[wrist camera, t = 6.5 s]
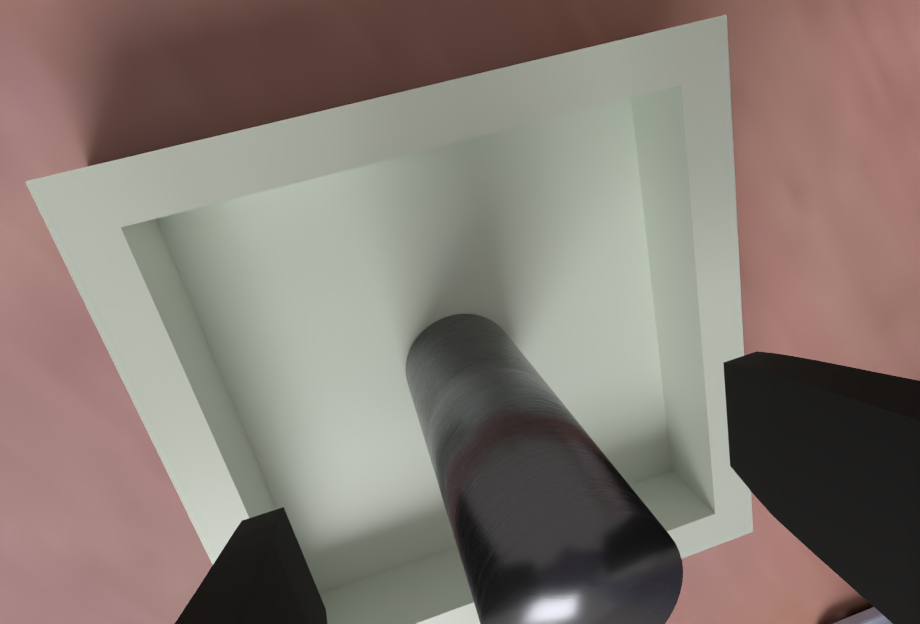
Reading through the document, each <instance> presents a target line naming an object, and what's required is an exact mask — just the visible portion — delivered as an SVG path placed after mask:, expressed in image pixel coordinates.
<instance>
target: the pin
mask: <svg viewBox="0 0 920 624" xmlns="http://www.w3.org/2000/svg"><path fill="white" fill-rule="evenodd" d="M406 379H407V383H408V386H409V390H410V393H411V396H412V400H413V403H414V406H415V409H416V413H417V416H418V419H419V423H420V426H421V429H422V433H423V436H424V439H425V442H426V446H427V449H428V452H429V456H430V459H431V462H432V466H433V469H434V472H435V475H436V479H437V482H438V485H439V489H440V492H441V495H442V498H443V502H444V505H445V508H446V512H447V515H448V518H449V522H450V525H451V528H452V531H453V535H454V538H455V541H456V545H457V548H458V551H459V555H460V558H461V561H462V564H463V568H464V571H465V574H466V578H467V581H468V584H469V588H470V591H471V594H472V597H473V601H474V604H475V607H476V611H477V614H478V617H479V621H480V624H665V623H666V621H667V620H668V618H669V616H670V615H671V613H672V611H673V609H674V607H675V605H676V603H677V600H678V597H679V594H680V590H681V586H682V578H683V567H682V560H681V556H680V552H679V550H678V548H677V546H676V543H675V542H674V540H673V539H672V538H671V536H670V535H669V533H668V532H667V531H666V530H665V529H664V527H663V526H662V525H661V524H660V522H659V521H658V520H657V519H656V517H655V516H654V515H653V514H652V513H651V511H650V510H649V509H648V508H647V506H646V505H645V504H644V503H643V501H642V500H641V499H640V498H639V497H638V495H637V494H636V493H635V492H634V490H633V489H632V488H631V487H630V485H629V484H628V483H627V482H626V481H625V479H624V478H623V477H622V476H621V474H620V473H619V472H618V471H617V469H616V468H615V467H614V466H613V464H612V463H611V462H610V461H609V460H608V458H607V457H606V456H605V455H604V453H603V452H602V451H601V450H600V448H599V447H598V446H597V445H596V444H595V442H594V441H593V440H592V439H591V437H590V436H589V435H588V434H587V432H586V431H585V430H584V429H583V428H582V426H581V425H580V424H579V423H578V421H577V420H576V419H575V418H574V416H573V415H572V414H571V413H570V411H569V410H568V409H567V408H566V407H565V405H564V404H563V403H562V402H561V400H560V399H559V398H558V397H557V395H556V394H555V393H554V392H553V391H552V389H551V388H550V387H549V386H548V384H547V383H546V382H545V381H544V379H543V378H542V377H541V376H540V375H539V373H538V372H537V371H536V370H535V368H534V367H533V366H532V365H531V363H530V362H529V361H528V360H527V358H526V357H525V356H524V355H523V354H522V352H521V351H520V350H519V349H518V347H517V346H516V345H515V344H514V342H513V341H512V340H511V339H510V338H509V336H508V335H507V334H506V333H505V331H504V330H503V329H502V328H501V327H500V326H499V325H497V324H496V323H495V322H493V321H491V320H490V319H488V318H485V317H483V316H479V315H475V314H457V315H451V316H448V317H445V318H442V319H440V320H438V321H436V322H434V323H433V324H431V325H430V326H428V327H427V328H426V329H425V330H424V331H423V332H422V333H421V334H420V335H419V336H418V337H417V338H416V340H415V341H414V343H413V345H412V346H411V349H410V351H409V353H408V357H407V361H406Z"/></svg>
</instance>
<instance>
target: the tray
mask: <svg viewBox="0 0 920 624" xmlns="http://www.w3.org/2000/svg"><path fill="white" fill-rule="evenodd" d="M25 182H26V185H27V187H28V189H29V191H30V193H31V195H32V197H33V199H34V201H35V203H36V205H37V207H38V209H39V211H40V213H41V215H42V217H43V219H44V221H45V223H46V225H47V227H48V229H49V232H50V234H51V236H52V238H53V240H54V242H55V244H56V246H57V248H58V250H59V252H60V254H61V256H62V258H63V260H64V262H65V264H66V266H67V268H68V270H69V272H70V274H71V276H72V279H73V281H74V283H75V285H76V287H77V289H78V291H79V293H80V295H81V297H82V299H83V301H84V303H85V305H86V307H87V309H88V311H89V313H90V315H91V317H92V319H93V321H94V323H95V325H96V328H97V330H98V332H99V334H100V336H101V338H102V340H103V342H104V344H105V346H106V348H107V350H108V352H109V354H110V356H111V358H112V360H113V362H114V364H115V366H116V368H117V370H118V372H119V375H120V377H121V379H122V381H123V383H124V385H125V387H126V389H127V391H128V393H129V395H130V397H131V399H132V401H133V403H134V405H135V407H136V409H137V411H138V413H139V415H140V417H141V419H142V422H143V424H144V426H145V428H146V430H147V432H148V434H149V436H150V438H151V440H152V442H153V444H154V446H155V448H156V450H157V452H158V454H159V456H160V458H161V460H162V462H163V464H164V466H165V468H166V471H167V473H168V475H169V477H170V479H171V481H172V483H173V485H174V487H175V489H176V491H177V493H178V495H179V497H180V499H181V501H182V503H183V505H184V507H185V509H186V511H187V513H188V515H189V518H190V520H191V522H192V524H193V526H194V528H195V530H196V532H197V534H198V536H199V538H200V540H201V542H202V544H203V546H204V548H205V550H206V552H207V554H208V556H209V558H210V560H211V562H212V565H213V564H214V563H215V561H216V560H217V558H218V556H219V555H220V553H221V552H222V550H223V549H224V547H225V545H226V544H227V542H228V541H229V539H230V538H231V536H232V535H233V533H234V532H235V530H236V529H237V527H238V526H239V524H240V523H241V521H242V520H246V519H249V518H252V517H255V516H258V515H261V514H264V513H267V512H270V511H273V510H276V509H279V508H282V507H284V509H285V512H286V514H287V516H288V519H289V521H290V524H291V526H292V529H293V531H294V533H295V536H296V538H297V541H298V543H299V546H300V548H301V550H302V553H303V555H304V558H305V560H306V562H307V565H308V567H309V570H310V572H311V575H312V577H313V579H314V582H315V584H316V587H317V589H318V592H319V594H320V596H321V599H322V601H323V604H324V606H325V608H326V615H327V624H480V621H479V617H478V614H477V611H476V607H475V604H474V601H473V597H472V594H471V591H470V588H469V584H468V581H467V578H466V574H465V571H464V568H463V564H462V561H461V558H460V555H459V551H458V548H457V545H456V541H455V538H454V535H453V531H452V528H451V525H450V522H449V518H448V515H447V512H446V508H445V505H444V502H443V498H442V495H441V492H440V489H439V485H438V482H437V479H436V475H435V472H434V469H433V466H432V462H431V459H430V456H429V452H428V449H427V446H426V442H425V439H424V436H423V433H422V429H421V426H420V423H419V419H418V416H417V413H416V409H415V406H414V403H413V400H412V396H411V393H410V390H409V386H408V383H407V379H406V361H407V357H408V353H409V351H410V349H411V346H412V345H413V343H414V341H415V340H416V338H417V337H418V336H419V335H420V334H421V333H422V332H423V331H424V330H425V329H426V328H427V327H428V326H430V325H431V324H433V323H434V322H436V321H438V320H440V319H442V318H445V317H448V316H451V315H457V314H475V315H479V316H483V317H485V318H488V319H490V320H491V321H493V322H495V323H496V324H497V325H499V326H500V327H501V328H502V329H503V330H504V331H505V333H506V334H507V335H508V336H509V338H510V339H511V340H512V341H513V342H514V344H515V345H516V346H517V347H518V349H519V350H520V351H521V352H522V354H523V355H524V356H525V357H526V358H527V360H528V361H529V362H530V363H531V365H532V366H533V367H534V368H535V370H536V371H537V372H538V373H539V375H540V376H541V377H542V378H543V379H544V381H545V382H546V383H547V384H548V386H549V387H550V388H551V389H552V391H553V392H554V393H555V394H556V395H557V397H558V398H559V399H560V400H561V402H562V403H563V404H564V405H565V407H566V408H567V409H568V410H569V411H570V413H571V414H572V415H573V416H574V418H575V419H576V420H577V421H578V423H579V424H580V425H581V426H582V428H583V429H584V430H585V431H586V432H587V434H588V435H589V436H590V437H591V439H592V440H593V441H594V442H595V444H596V445H597V446H598V447H599V448H600V450H601V451H602V452H603V453H604V455H605V456H606V457H607V458H608V460H609V461H610V462H611V463H612V464H613V466H614V467H615V468H616V469H617V471H618V472H619V473H620V474H621V476H622V477H623V478H624V479H625V481H626V482H627V483H628V484H629V485H630V487H631V488H632V489H633V490H634V492H635V493H636V494H637V495H638V497H639V498H640V499H641V500H642V501H643V503H644V504H645V505H646V506H647V508H648V509H649V510H650V511H651V513H652V514H653V515H654V516H655V517H656V519H657V520H658V521H659V522H660V524H661V525H662V526H663V527H664V529H665V530H666V531H667V532H668V533H669V535H670V536H671V538H672V539H673V540H674V542H675V543H676V546H677V548H678V550H679V552H680V556H681V559H682V558H685V557H687V556H690V555H693V554H695V553H698V552H701V551H703V550H706V549H709V548H711V547H714V546H717V545H719V544H722V543H725V542H727V541H730V540H733V539H735V538H738V537H741V536H743V535H746V534H749V533H751V532H753V522H752V503H751V490H750V489H749V488H748V487H747V486H746V484H745V483H744V482H743V481H742V480H741V478H740V477H739V476H738V475H737V474H736V472H735V471H734V470H733V469H732V468H731V466H730V456H729V441H728V425H727V410H726V395H725V380H724V364H723V363H724V362H727V361H730V360H733V359H736V358H739V357H742V356H744V346H743V326H742V307H741V287H740V267H739V248H738V228H737V209H736V189H735V169H734V150H733V130H732V111H731V91H730V71H729V52H728V32H727V14H726V15H722V16H718V17H714V18H709V19H705V20H701V21H697V22H693V23H688V24H684V25H680V26H676V27H672V28H667V29H663V30H659V31H655V32H651V33H646V34H642V35H638V36H634V37H630V38H625V39H621V40H617V41H613V42H609V43H604V44H600V45H596V46H592V47H588V48H584V49H579V50H575V51H571V52H567V53H563V54H558V55H554V56H550V57H546V58H542V59H537V60H533V61H529V62H525V63H521V64H516V65H512V66H508V67H504V68H500V69H495V70H491V71H487V72H483V73H479V74H474V75H470V76H466V77H462V78H458V79H453V80H449V81H445V82H441V83H437V84H432V85H428V86H424V87H420V88H416V89H411V90H407V91H403V92H399V93H395V94H390V95H386V96H382V97H378V98H374V99H369V100H365V101H361V102H357V103H353V104H348V105H344V106H340V107H336V108H332V109H327V110H323V111H319V112H315V113H311V114H306V115H302V116H298V117H294V118H290V119H285V120H281V121H277V122H273V123H269V124H264V125H260V126H256V127H252V128H248V129H243V130H239V131H235V132H231V133H227V134H222V135H218V136H214V137H210V138H206V139H201V140H197V141H193V142H189V143H185V144H180V145H176V146H172V147H168V148H164V149H159V150H155V151H151V152H147V153H143V154H139V155H134V156H130V157H126V158H122V159H118V160H113V161H109V162H105V163H101V164H97V165H92V166H88V167H84V168H80V169H76V170H71V171H67V172H63V173H59V174H55V175H50V176H46V177H42V178H38V179H34V180H29V181H25Z"/></svg>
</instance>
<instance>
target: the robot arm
mask: <svg viewBox="0 0 920 624" xmlns="http://www.w3.org/2000/svg"><path fill="white" fill-rule="evenodd" d="M723 364H724V380H725V395H726V410H727V425H728V441H729V456H730V466H731V468H732V469H733V470H734V471H735V472H736V474H737V475H738V476H739V477H740V478H741V480H742V481H743V482H744V483H745V484H746V486H747V487H748V488H749V489H750V490H751V492H752V493H753V494H754V495H755V496H756V497H757V498H758V499H759V501H760V502H761V503H762V504H763V505H764V506H765V507H766V508H767V509H768V511H769V512H770V513H771V514H772V515H773V516H774V517H775V518H776V519H777V520H778V521H779V522H780V523H781V524H782V525H784V526H785V527H786V528H787V529H788V530H789V531H790V532H791V533H792V534H793V535H794V536H796V537H797V538H798V539H799V540H800V541H801V542H802V543H803V544H804V545H805V546H807V547H808V548H809V549H810V550H811V551H812V552H813V553H814V554H815V555H816V556H818V557H819V558H820V559H821V560H822V561H823V562H824V563H825V564H827V565H828V566H829V567H830V568H831V569H832V570H833V571H834V572H835V573H837V574H838V575H839V576H840V577H841V578H842V579H843V580H844V581H846V582H847V583H848V584H849V585H850V586H851V587H852V588H853V589H855V590H856V591H857V592H858V593H859V594H860V595H861V596H862V597H863V598H865V599H866V600H867V601H868V602H869V603H870V604H871V605H872V606H874V607H872V608H870V609H867V610H865V611H862V612H860V613H857V614H855V615H852V616H850V617H847V618H845V619H843V620H840V621H838V622H835V623H833V624H920V381H917V380H912V379H907V378H902V377H897V376H892V375H887V374H881V373H876V372H871V371H866V370H861V369H856V368H851V367H846V366H841V365H836V364H831V363H826V362H821V361H816V360H810V359H805V358H799V357H794V356H788V355H781V354H774V353H765V352H754V353H751V354H748V355H745V356H742V357H739V358H736V359H733V360H730V361H727V362H724V363H723ZM175 624H327V615H326V608H325V606H324V604H323V601H322V599H321V596H320V594H319V592H318V589H317V587H316V584H315V582H314V579H313V577H312V575H311V572H310V570H309V567H308V565H307V562H306V560H305V558H304V555H303V553H302V550H301V548H300V546H299V543H298V541H297V538H296V536H295V533H294V531H293V529H292V526H291V524H290V521H289V519H288V516H287V514H286V512H285V509H284V507H282V508H279V509H276V510H273V511H270V512H267V513H264V514H261V515H258V516H255V517H252V518H249V519H246V520H242V521H241V523H240V524H239V526H238V527H237V529H236V530H235V532H234V533H233V535H232V536H231V538H230V539H229V541H228V542H227V544H226V545H225V547H224V549H223V550H222V552H221V553H220V555H219V556H218V558H217V560H216V561H215V563H214V564H213V566H212V567H211V569H210V571H209V572H208V574H207V575H206V577H205V578H204V580H203V582H202V583H201V585H200V586H199V588H198V589H197V591H196V592H195V594H194V595H193V597H192V598H191V600H190V601H189V603H188V605H187V606H186V608H185V609H184V611H183V612H182V614H181V615H180V617H179V618H178V620H177V621H176V623H175Z"/></svg>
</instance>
